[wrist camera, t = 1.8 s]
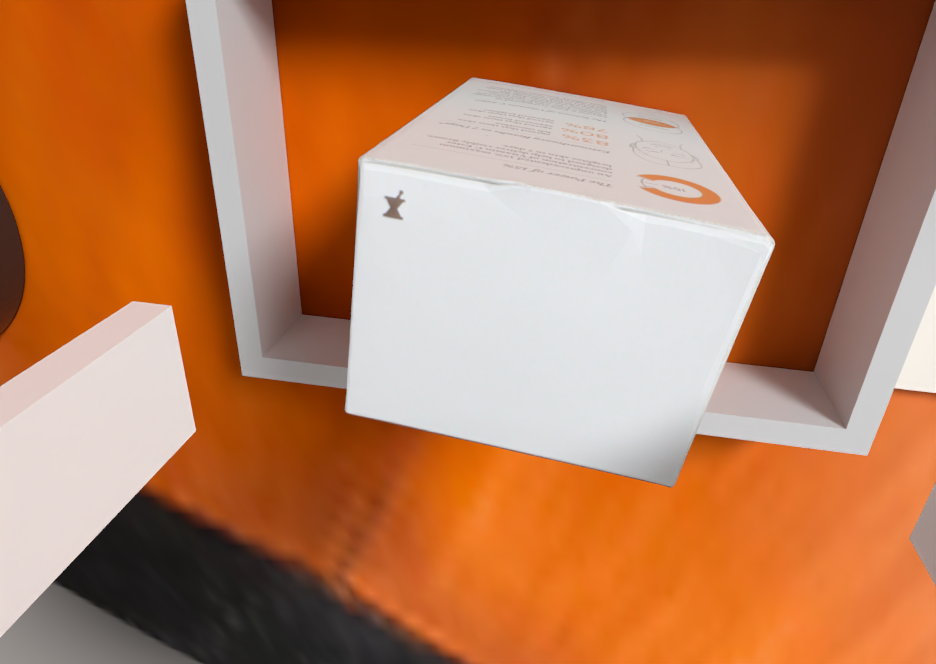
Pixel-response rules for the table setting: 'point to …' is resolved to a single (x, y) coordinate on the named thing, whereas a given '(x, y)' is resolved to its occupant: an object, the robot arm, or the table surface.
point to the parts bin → (740, 385)
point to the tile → (922, 355)
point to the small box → (549, 278)
